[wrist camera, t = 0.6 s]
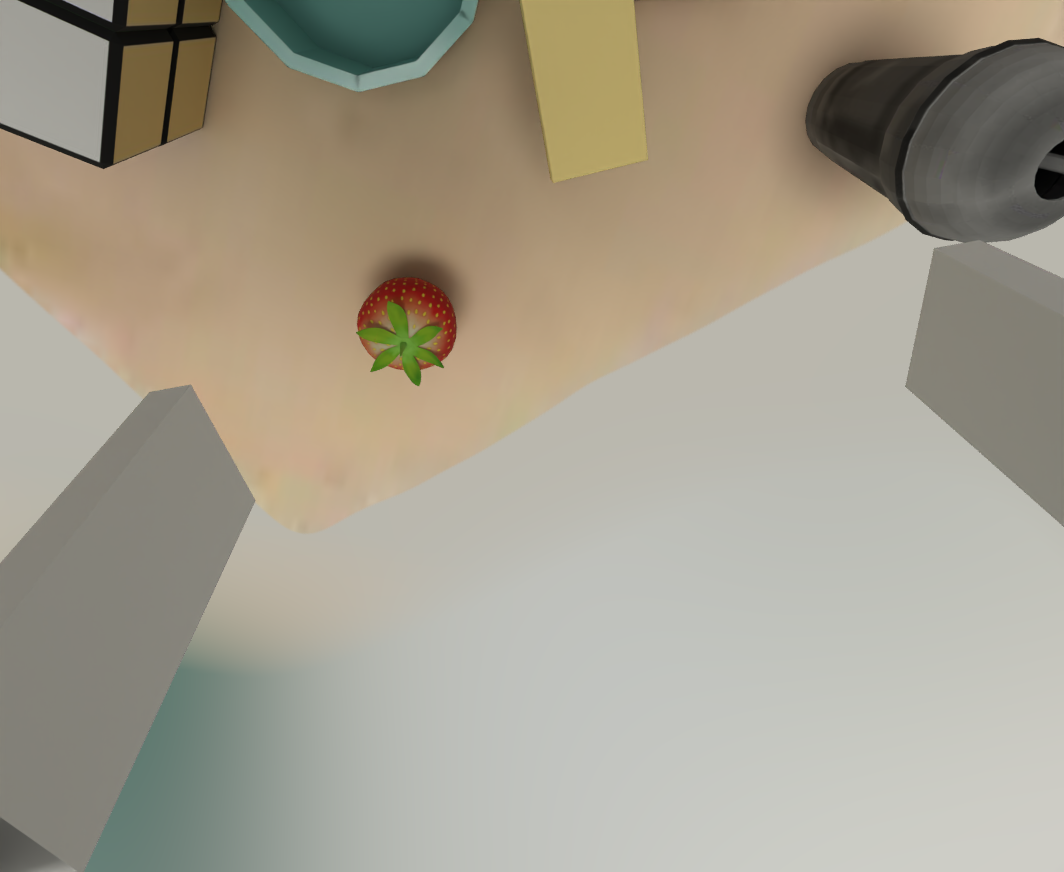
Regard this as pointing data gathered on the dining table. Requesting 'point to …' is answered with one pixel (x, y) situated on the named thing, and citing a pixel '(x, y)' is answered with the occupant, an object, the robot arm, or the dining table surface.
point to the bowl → (358, 36)
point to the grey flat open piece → (586, 83)
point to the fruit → (407, 326)
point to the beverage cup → (953, 137)
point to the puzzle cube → (105, 73)
